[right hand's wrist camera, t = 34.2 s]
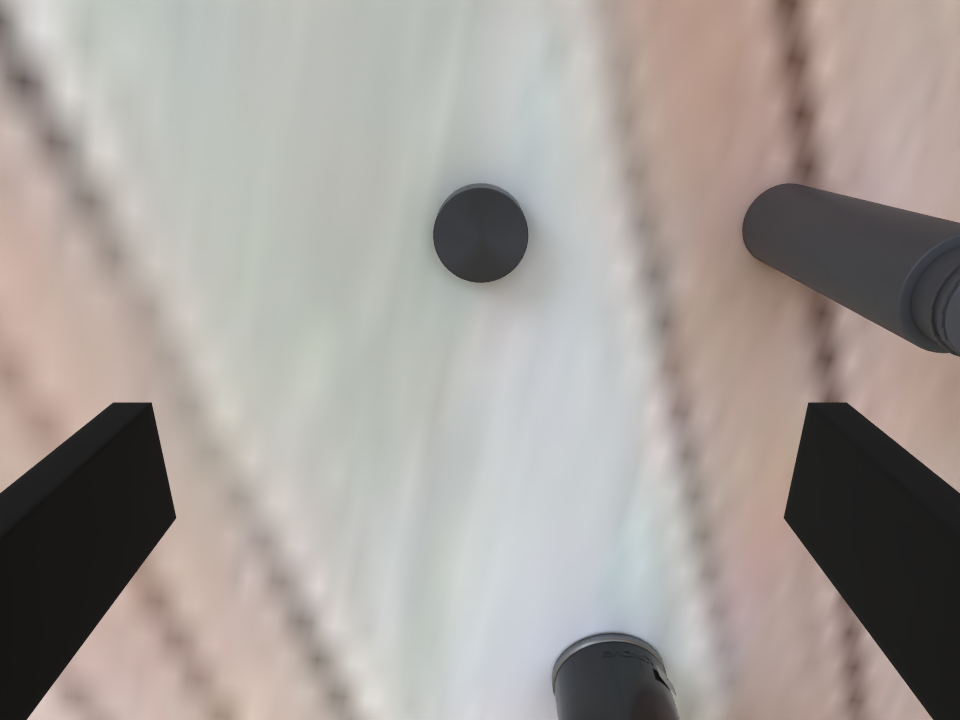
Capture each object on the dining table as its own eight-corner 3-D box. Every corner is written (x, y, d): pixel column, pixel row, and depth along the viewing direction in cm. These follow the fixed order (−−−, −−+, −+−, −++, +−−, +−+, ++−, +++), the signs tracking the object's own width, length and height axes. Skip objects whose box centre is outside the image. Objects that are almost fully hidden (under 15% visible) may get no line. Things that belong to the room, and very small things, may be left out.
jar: (809, 168, 38) (1063, 214, 21) (833, 240, 40) (1087, 336, 23) (730, 208, 39) (917, 282, 22) (757, 277, 40) (949, 394, 24)
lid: (439, 179, 38) (436, 183, 36) (530, 187, 38) (533, 192, 36) (432, 269, 40) (430, 278, 38) (520, 277, 40) (522, 286, 38)
